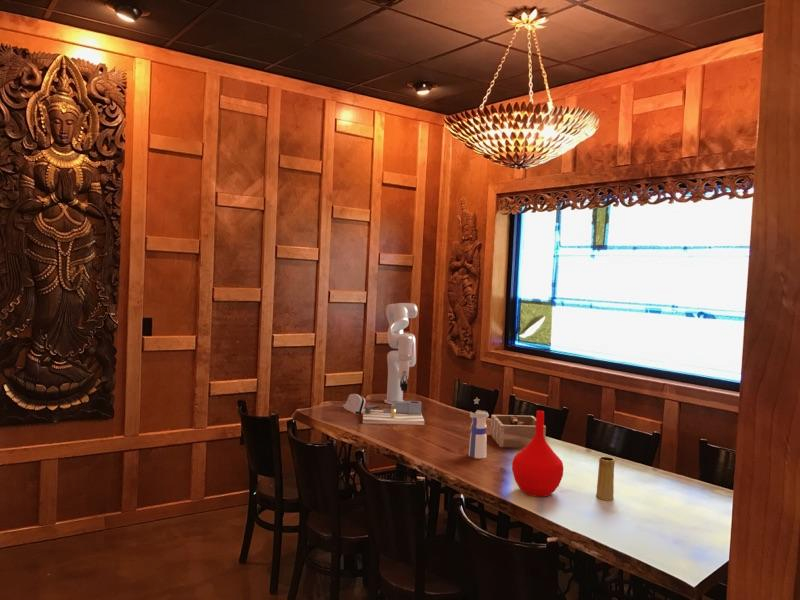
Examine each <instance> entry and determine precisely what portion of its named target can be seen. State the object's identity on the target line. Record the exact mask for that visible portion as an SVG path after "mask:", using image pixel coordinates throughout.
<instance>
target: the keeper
mask: <svg viewBox="0 0 800 600" xmlns="http://www.w3.org/2000/svg"><path fill="white" fill-rule="evenodd" d="M379 408H380V405H377V404H373V405H372V404H371V405H367V406H364V410H365V413H366V414H370V411H371V410H375V409H379Z"/></svg>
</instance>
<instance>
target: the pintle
mask: <svg viewBox="0 0 800 600" xmlns="http://www.w3.org/2000/svg"><path fill="white" fill-rule="evenodd" d="M390 409H391V408H390ZM391 417H392V418H395V417H396V409H391Z"/></svg>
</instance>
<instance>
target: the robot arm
mask: <svg viewBox="0 0 800 600" xmlns="http://www.w3.org/2000/svg"><path fill="white" fill-rule="evenodd" d="M418 312H419V311H418V306H417V305H416V303H413V302H412V303H411V302H397V303H390V304H387V306H386V308H385V314H386V318H387V319H386V320H387V321H388V324H389V325H388V326H389V327H388V329H387V342H388V345H389V347H390V348H391V349H397V350H390V351H389V352H388V353H387V355H386V361H387V386H386V387H387V390H386V399H383V401H384V403H386V404H388V405H392V401H405V400H404V398H403V397H404V392H407V391H408V379H409V373H410V368H412V367H414V366H415V365H416V363H417V340H416V335H414V334H413V333H411V332H410V333H405V331H404V329H406V328H407V327H408V326H409V325H410V324H409V323H410V320H409V319H415V318H417V317H418V315H419V314H418Z"/></svg>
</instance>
